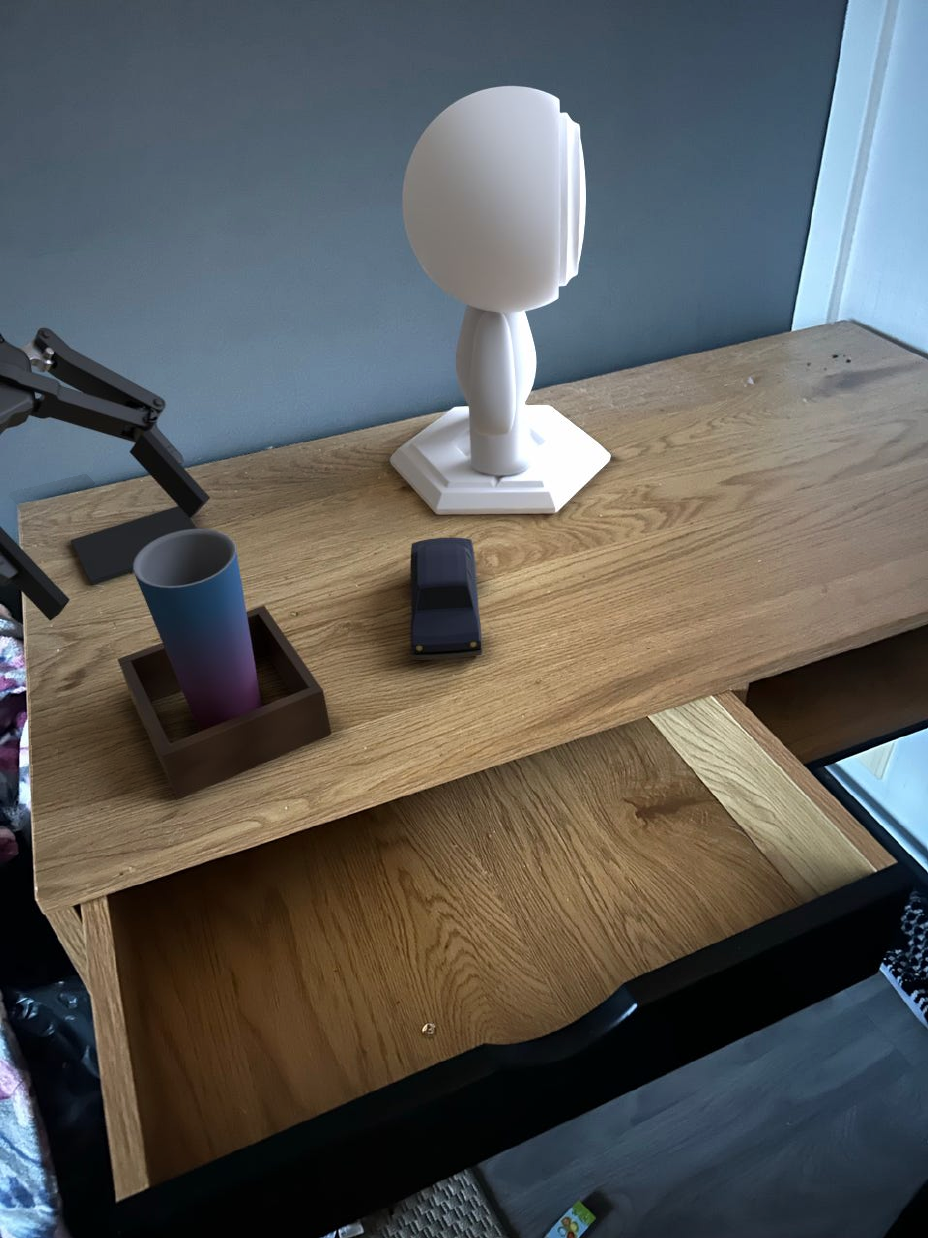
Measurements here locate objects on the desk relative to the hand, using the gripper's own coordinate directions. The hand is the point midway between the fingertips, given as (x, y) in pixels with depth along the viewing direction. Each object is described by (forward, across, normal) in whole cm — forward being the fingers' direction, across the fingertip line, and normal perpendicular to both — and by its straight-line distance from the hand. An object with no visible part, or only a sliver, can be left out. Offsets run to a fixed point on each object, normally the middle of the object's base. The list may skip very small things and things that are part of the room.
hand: (135, 556), depth 69 cm
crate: (+13, 0, -6) cm, 14 cm away
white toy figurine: (+14, -42, -6) cm, 45 cm away
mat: (-3, -14, -22) cm, 27 cm away
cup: (+13, 0, -6) cm, 15 cm away
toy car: (+19, -18, 0) cm, 26 cm away
